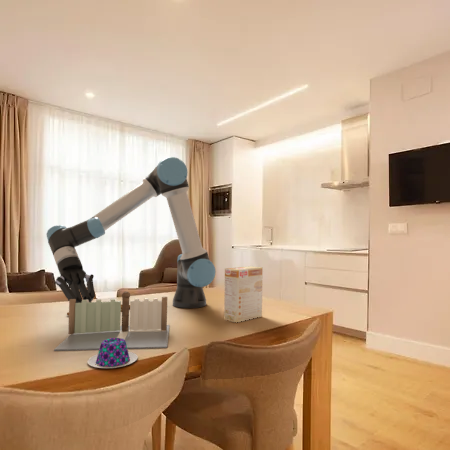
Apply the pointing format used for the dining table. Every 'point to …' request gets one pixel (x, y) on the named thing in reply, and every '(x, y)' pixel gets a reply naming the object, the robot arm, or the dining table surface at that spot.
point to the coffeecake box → (243, 293)
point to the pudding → (112, 354)
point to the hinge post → (125, 311)
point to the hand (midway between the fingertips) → (90, 318)
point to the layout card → (131, 337)
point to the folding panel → (94, 316)
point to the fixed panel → (148, 314)
